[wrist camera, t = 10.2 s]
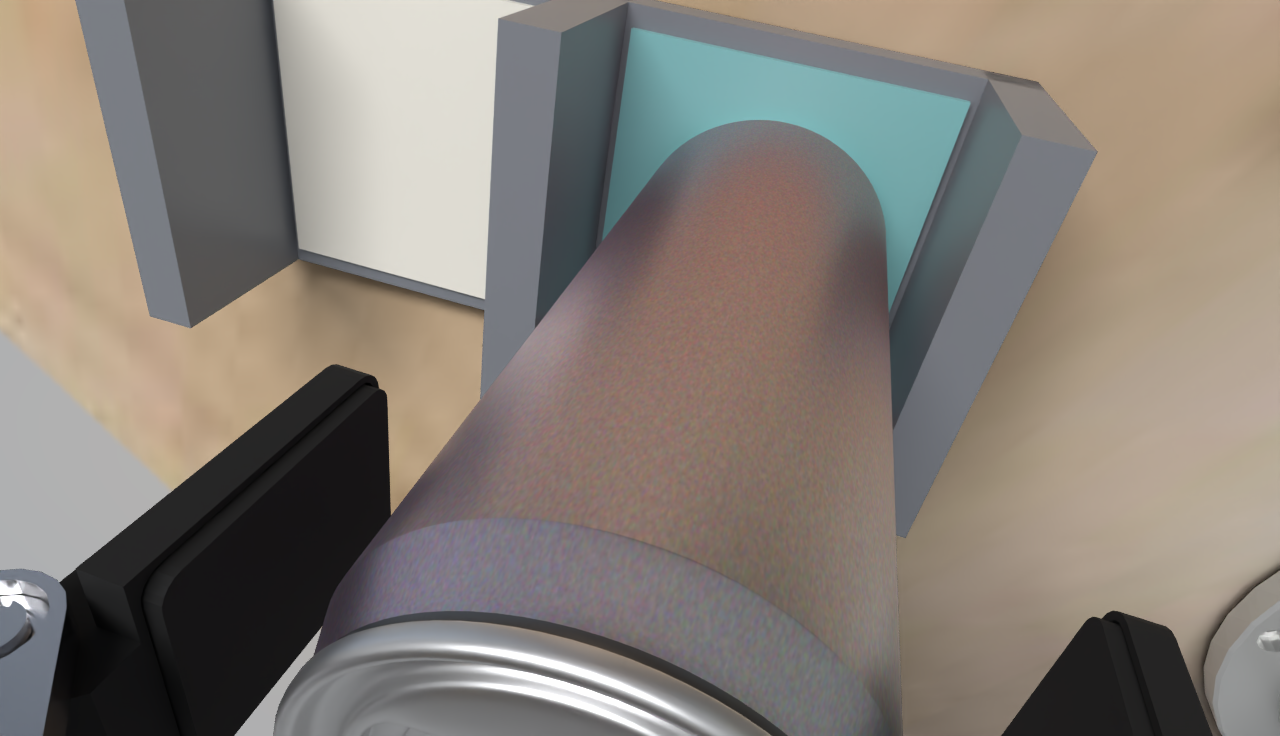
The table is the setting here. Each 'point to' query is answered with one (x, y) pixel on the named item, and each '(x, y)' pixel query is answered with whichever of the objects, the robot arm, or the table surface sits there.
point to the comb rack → (559, 160)
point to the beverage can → (656, 488)
